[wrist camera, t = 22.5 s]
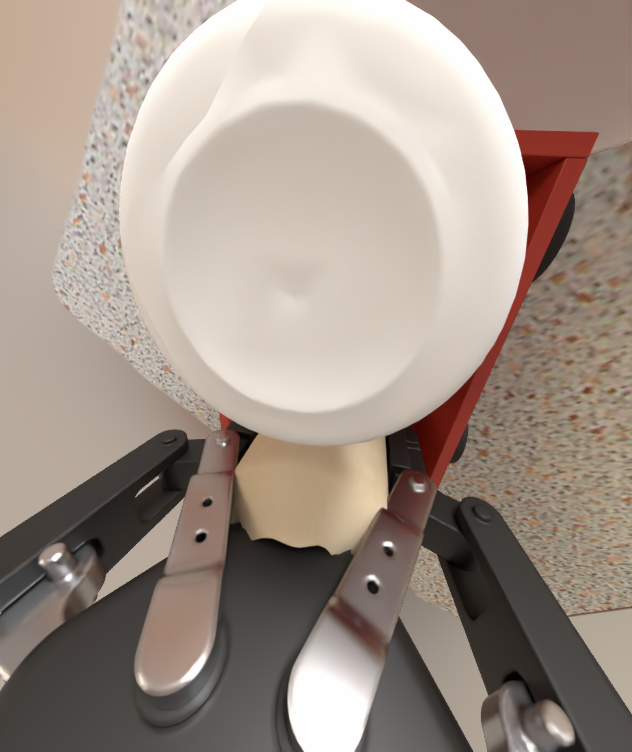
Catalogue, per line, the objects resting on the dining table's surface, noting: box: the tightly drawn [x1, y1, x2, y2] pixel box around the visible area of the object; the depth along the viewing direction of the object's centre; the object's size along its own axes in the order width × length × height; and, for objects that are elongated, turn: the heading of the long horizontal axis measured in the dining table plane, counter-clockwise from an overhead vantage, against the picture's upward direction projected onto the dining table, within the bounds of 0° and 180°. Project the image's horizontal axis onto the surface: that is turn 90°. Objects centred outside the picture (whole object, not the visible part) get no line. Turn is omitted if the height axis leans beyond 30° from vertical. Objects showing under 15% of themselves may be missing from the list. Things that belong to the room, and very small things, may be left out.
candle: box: [231, 433, 389, 555], centre depth 11 cm, size 6×6×10 cm
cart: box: [220, 130, 599, 489], centre depth 14 cm, size 16×13×6 cm
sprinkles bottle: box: [119, 0, 528, 446], centre depth 9 cm, size 5×5×14 cm
